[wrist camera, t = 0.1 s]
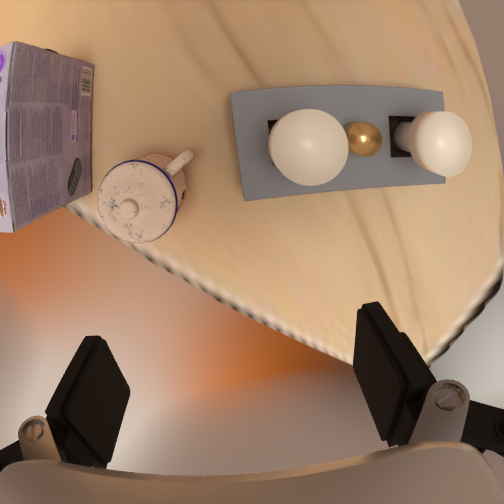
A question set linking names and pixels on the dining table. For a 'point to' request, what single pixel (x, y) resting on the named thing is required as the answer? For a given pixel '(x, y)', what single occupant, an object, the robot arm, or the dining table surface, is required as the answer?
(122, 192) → the teacup with lid
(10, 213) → the cake pan box
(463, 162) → the ivory knob
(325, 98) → the mount
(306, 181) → the ivory knob
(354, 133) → the brass ball
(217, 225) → the dining table surface
